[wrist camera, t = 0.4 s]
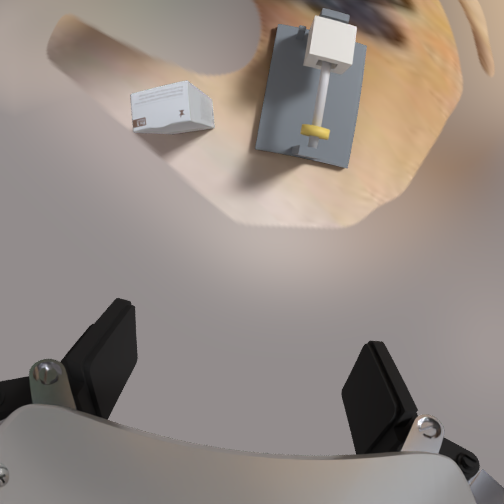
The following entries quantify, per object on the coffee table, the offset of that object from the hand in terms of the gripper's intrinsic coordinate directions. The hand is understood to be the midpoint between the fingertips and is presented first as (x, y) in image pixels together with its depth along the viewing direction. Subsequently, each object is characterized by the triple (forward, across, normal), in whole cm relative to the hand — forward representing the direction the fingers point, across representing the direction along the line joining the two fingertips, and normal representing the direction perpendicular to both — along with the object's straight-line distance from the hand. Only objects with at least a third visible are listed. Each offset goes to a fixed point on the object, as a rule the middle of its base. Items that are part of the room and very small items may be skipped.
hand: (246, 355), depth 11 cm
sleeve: (+24, -4, -21) cm, 33 cm away
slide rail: (+29, -4, -17) cm, 34 cm away
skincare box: (+29, +11, -10) cm, 33 cm away
